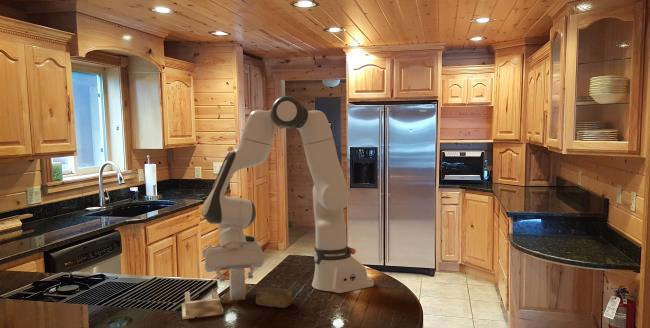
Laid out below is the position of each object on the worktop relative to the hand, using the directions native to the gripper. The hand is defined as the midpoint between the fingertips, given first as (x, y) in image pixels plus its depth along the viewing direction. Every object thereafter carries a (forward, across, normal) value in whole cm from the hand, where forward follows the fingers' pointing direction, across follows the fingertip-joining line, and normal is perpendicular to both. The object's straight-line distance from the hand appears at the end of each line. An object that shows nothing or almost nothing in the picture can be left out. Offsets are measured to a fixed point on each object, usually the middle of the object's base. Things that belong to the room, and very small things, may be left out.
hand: (236, 279), depth 152 cm
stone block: (+12, +10, -3) cm, 16 cm away
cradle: (+10, -12, -1) cm, 15 cm away
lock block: (+5, 0, +4) cm, 6 cm away
